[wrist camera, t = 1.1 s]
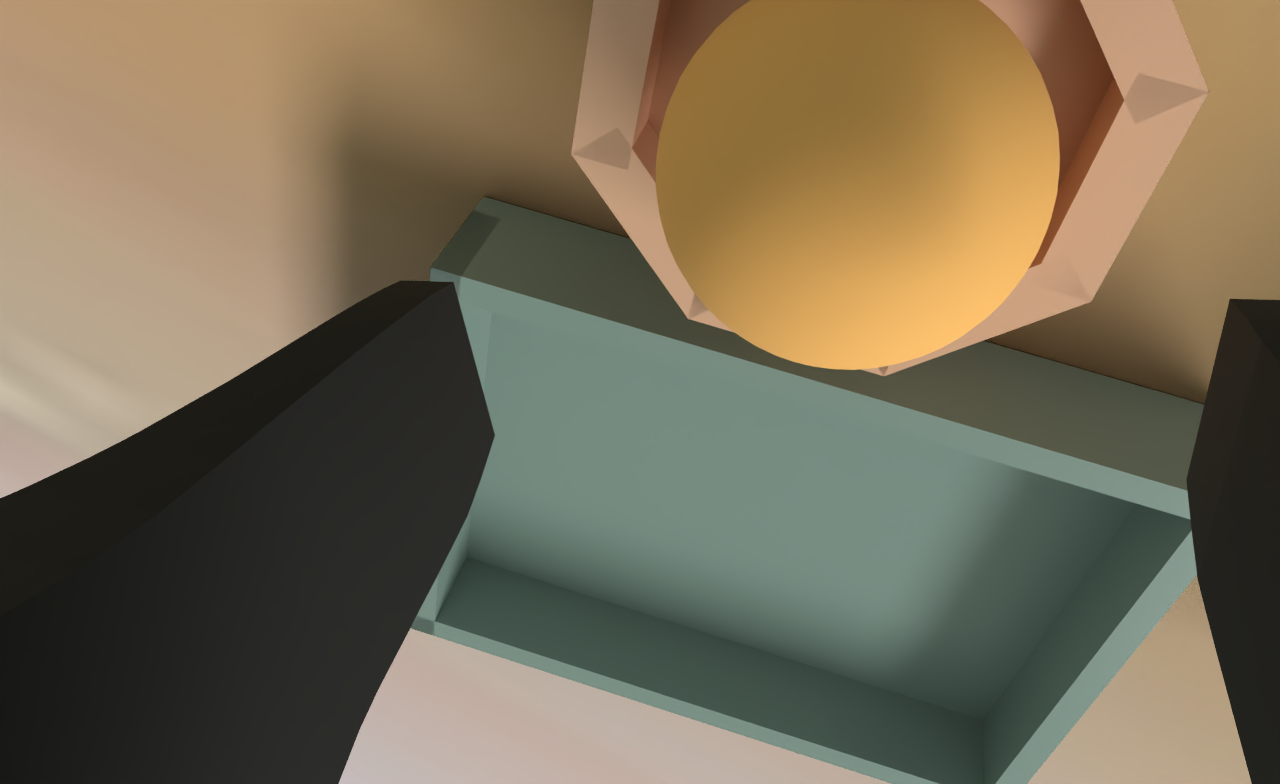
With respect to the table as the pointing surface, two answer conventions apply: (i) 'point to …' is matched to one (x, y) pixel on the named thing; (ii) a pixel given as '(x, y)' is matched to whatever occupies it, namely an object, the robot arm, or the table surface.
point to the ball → (857, 175)
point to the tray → (801, 519)
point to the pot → (1072, 72)
